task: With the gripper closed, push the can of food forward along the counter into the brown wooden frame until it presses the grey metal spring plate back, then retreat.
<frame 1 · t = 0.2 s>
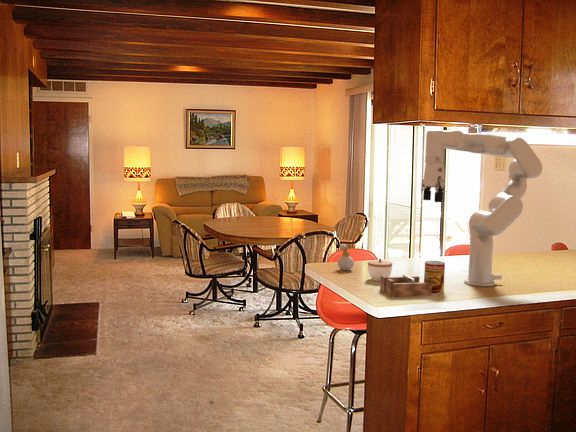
hand: (432, 200, 258), 36 cm above the table, tool pointing down, fingers open, 9 cm apart
brown wooden frame: (405, 292, 247), on the table
lidded jar: (379, 280, 271), on the table
canned food: (433, 292, 250), on the table
pusher: (398, 284, 246), point 3 cm above the table, slide at 0.0 cm
perfume bottle: (343, 270, 293), on the table
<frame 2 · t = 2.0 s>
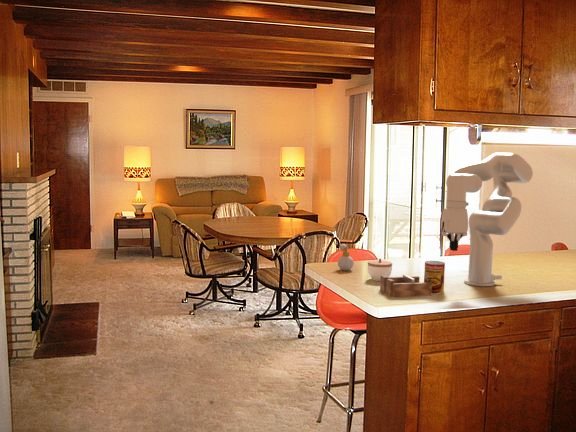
hand: (453, 250, 249), 17 cm above the table, tool pointing down, fingers closed
nothing on the table moved.
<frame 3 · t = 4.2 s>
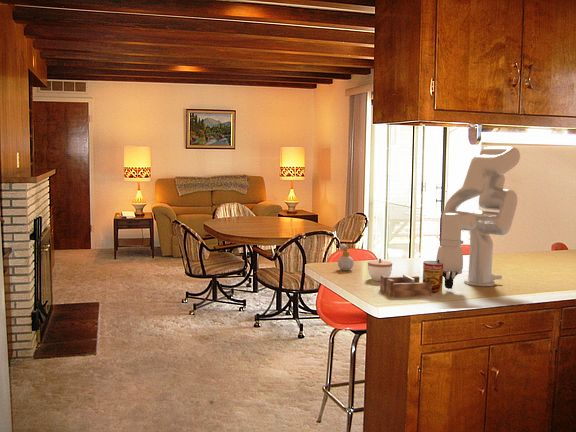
hand: (448, 288, 251), 1 cm above the table, tool pointing down, fingers closed
canned food: (432, 292, 250), on the table, touching gripper
everything else where it was.
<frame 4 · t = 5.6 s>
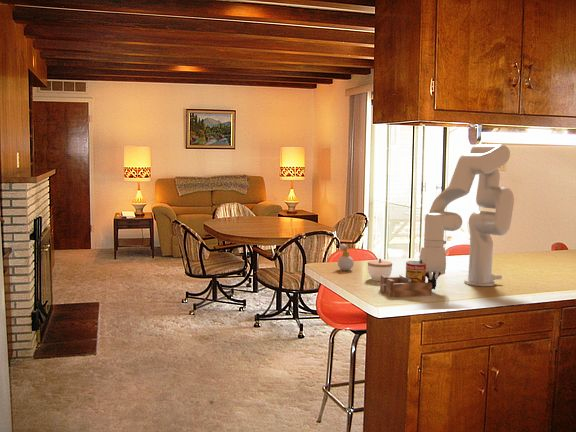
hand: (431, 288, 249), 1 cm above the table, tool pointing down, fingers closed
canned food: (414, 292, 248), on the table, touching gripper, pusher
pusher: (394, 284, 246), point 3 cm above the table, slide at 1.5 cm, touching canned food
everything else where it was.
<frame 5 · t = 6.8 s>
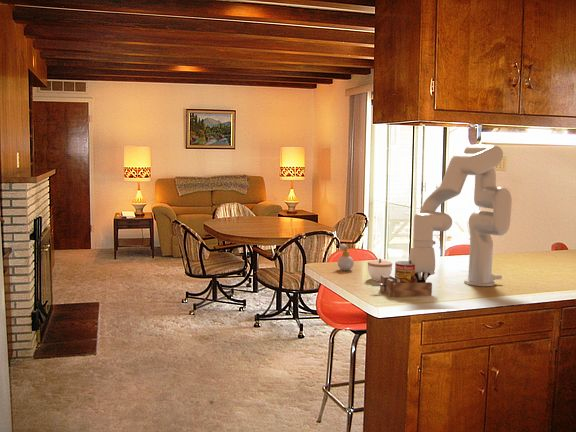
hand: (421, 289, 248), 1 cm above the table, tool pointing down, fingers closed
canned food: (404, 292, 247), on the table, touching gripper, pusher
pusher: (383, 284, 245), point 3 cm above the table, slide at 6.1 cm, touching canned food
everything else where it was.
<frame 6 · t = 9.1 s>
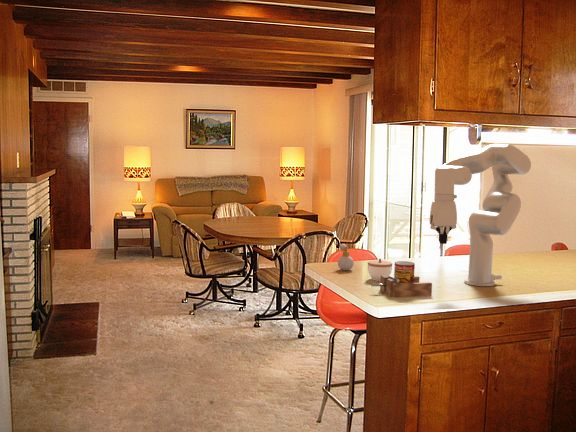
hand: (443, 243, 249), 20 cm above the table, tool pointing down, fingers closed
canned food: (403, 292, 247), on the table
pusher: (383, 284, 245), point 3 cm above the table, slide at 6.4 cm
everything else where it was.
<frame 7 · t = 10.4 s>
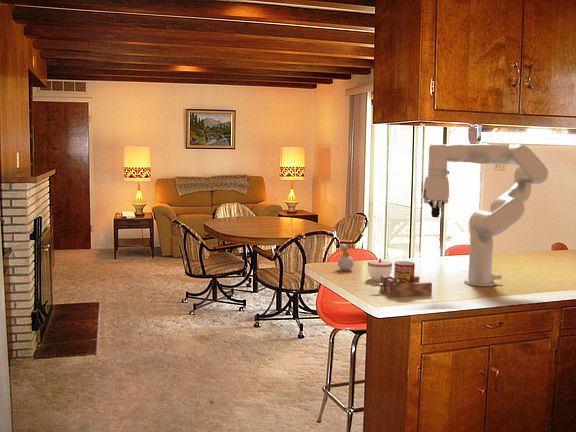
hand: (435, 217, 259), 29 cm above the table, tool pointing down, fingers closed
nothing on the table moved.
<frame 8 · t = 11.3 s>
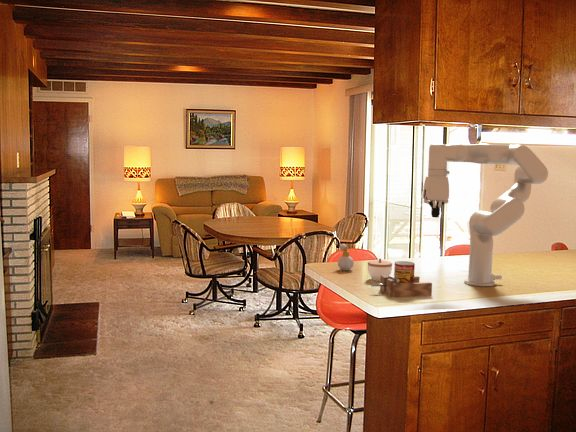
hand: (435, 217, 259), 29 cm above the table, tool pointing down, fingers closed
nothing on the table moved.
at the end: canned food inside the target area (0.4 cm from its centre), on the table; pusher slide at 6.4 cm; canned food tilted 0° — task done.
